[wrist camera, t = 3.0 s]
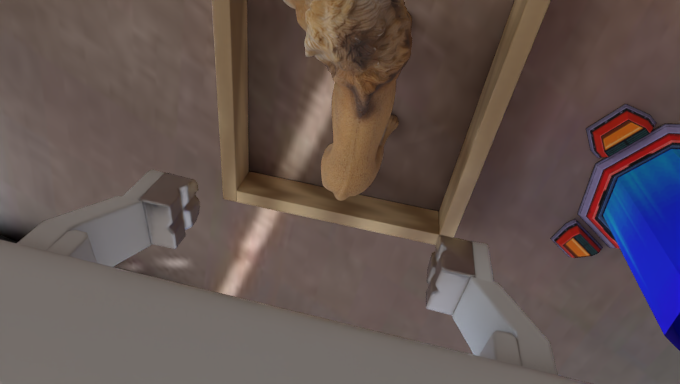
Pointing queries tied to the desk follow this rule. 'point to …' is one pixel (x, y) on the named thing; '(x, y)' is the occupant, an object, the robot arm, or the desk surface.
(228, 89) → the frame
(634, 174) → the fantasy tower
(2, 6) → the desk surface
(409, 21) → the lion figurine
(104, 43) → the desk surface
